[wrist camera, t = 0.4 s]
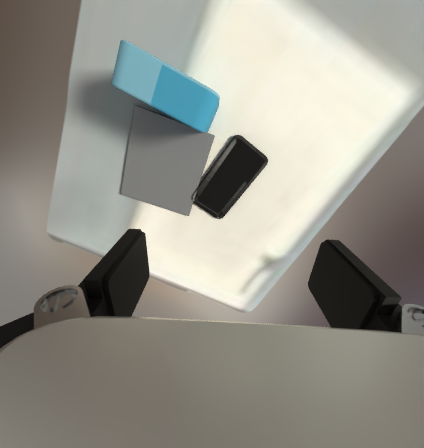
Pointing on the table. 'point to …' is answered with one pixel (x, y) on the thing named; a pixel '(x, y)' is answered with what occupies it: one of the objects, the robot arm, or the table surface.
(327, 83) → the table surface
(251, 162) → the phone
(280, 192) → the table surface
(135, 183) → the mat
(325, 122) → the table surface
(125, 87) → the data package
